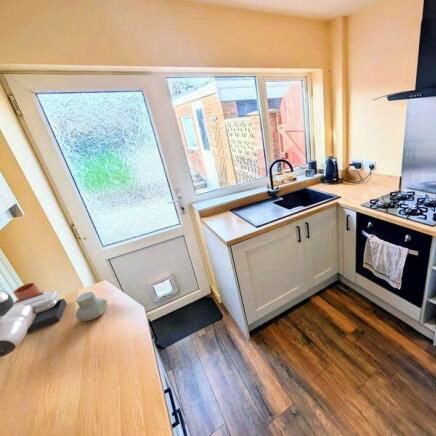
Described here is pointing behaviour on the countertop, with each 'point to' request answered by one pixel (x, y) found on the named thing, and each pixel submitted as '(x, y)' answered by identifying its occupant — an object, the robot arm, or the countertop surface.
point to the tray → (48, 316)
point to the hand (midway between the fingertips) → (31, 296)
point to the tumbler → (27, 292)
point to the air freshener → (90, 306)
